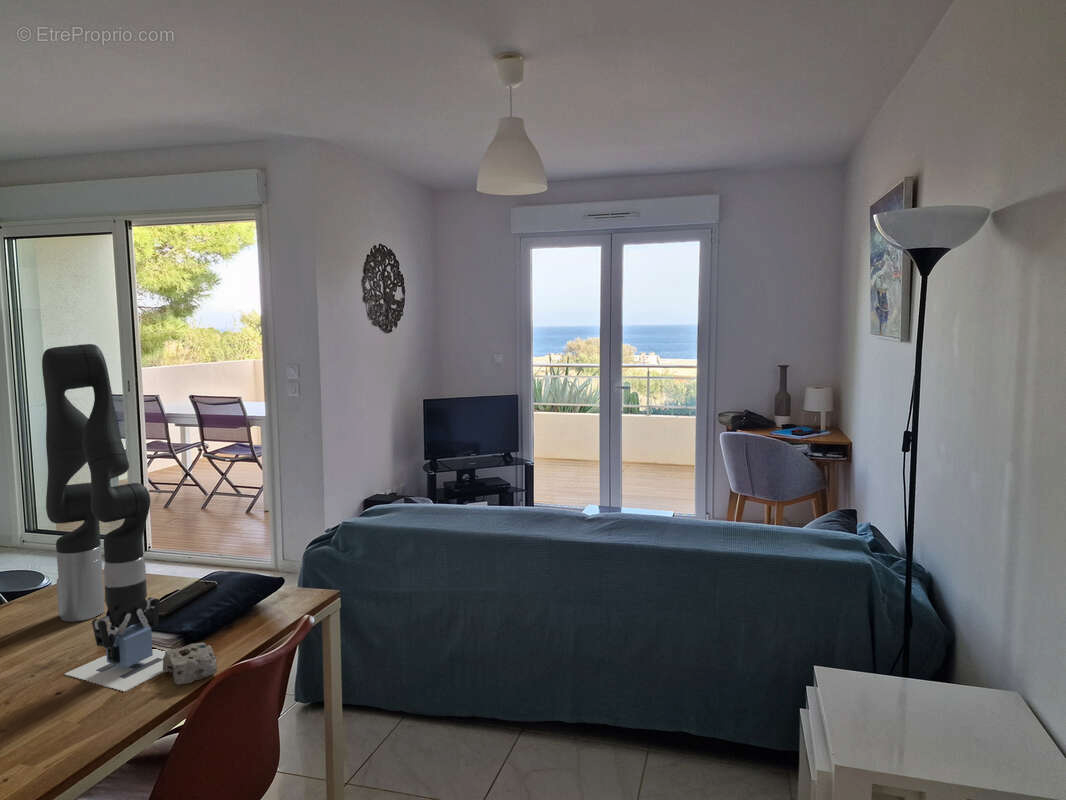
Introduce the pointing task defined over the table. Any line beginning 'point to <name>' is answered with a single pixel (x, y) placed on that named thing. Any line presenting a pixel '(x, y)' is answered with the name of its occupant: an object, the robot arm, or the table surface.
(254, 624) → the table surface
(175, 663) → the stone
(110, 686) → the letter card
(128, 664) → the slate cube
